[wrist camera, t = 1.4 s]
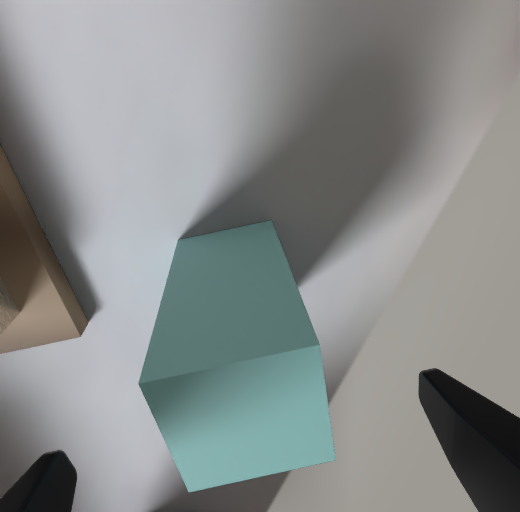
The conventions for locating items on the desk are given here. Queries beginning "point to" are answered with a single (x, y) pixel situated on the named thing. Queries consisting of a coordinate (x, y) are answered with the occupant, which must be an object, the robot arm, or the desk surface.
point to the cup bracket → (6, 308)
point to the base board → (32, 274)
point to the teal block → (236, 362)
